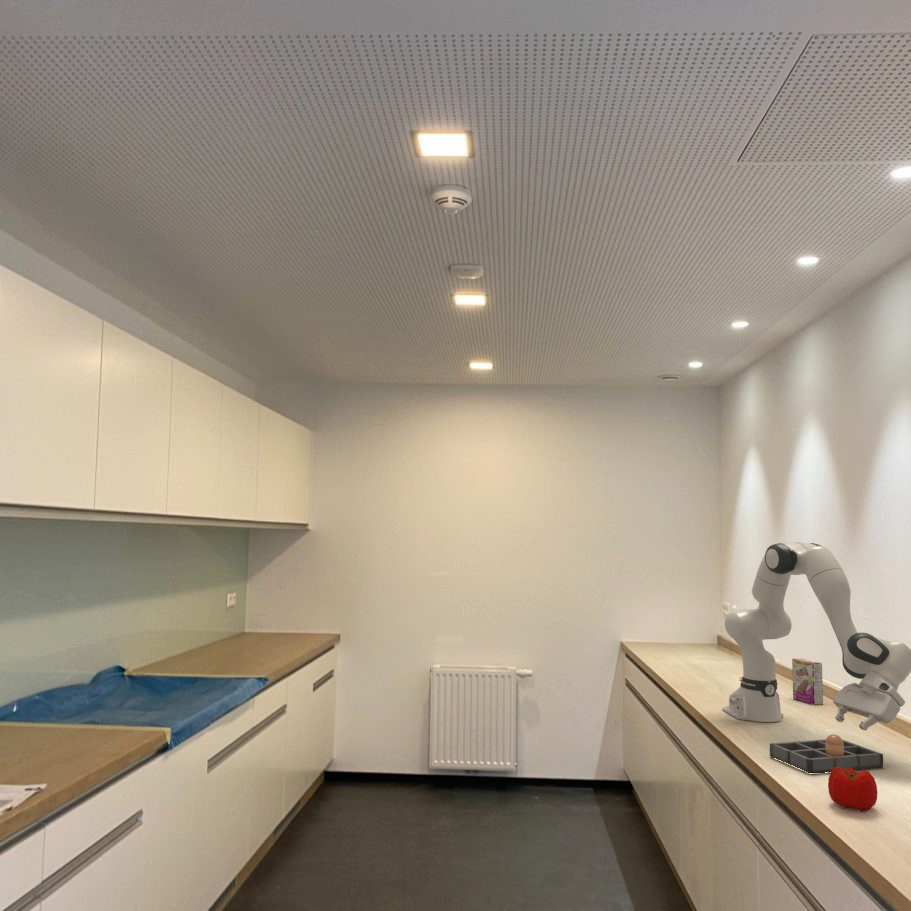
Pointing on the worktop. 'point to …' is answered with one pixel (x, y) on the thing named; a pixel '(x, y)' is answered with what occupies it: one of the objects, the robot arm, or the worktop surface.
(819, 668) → the candy bar box
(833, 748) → the terracotta egg
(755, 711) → the robot arm
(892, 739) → the worktop surface
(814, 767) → the egg carton
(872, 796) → the tomato
